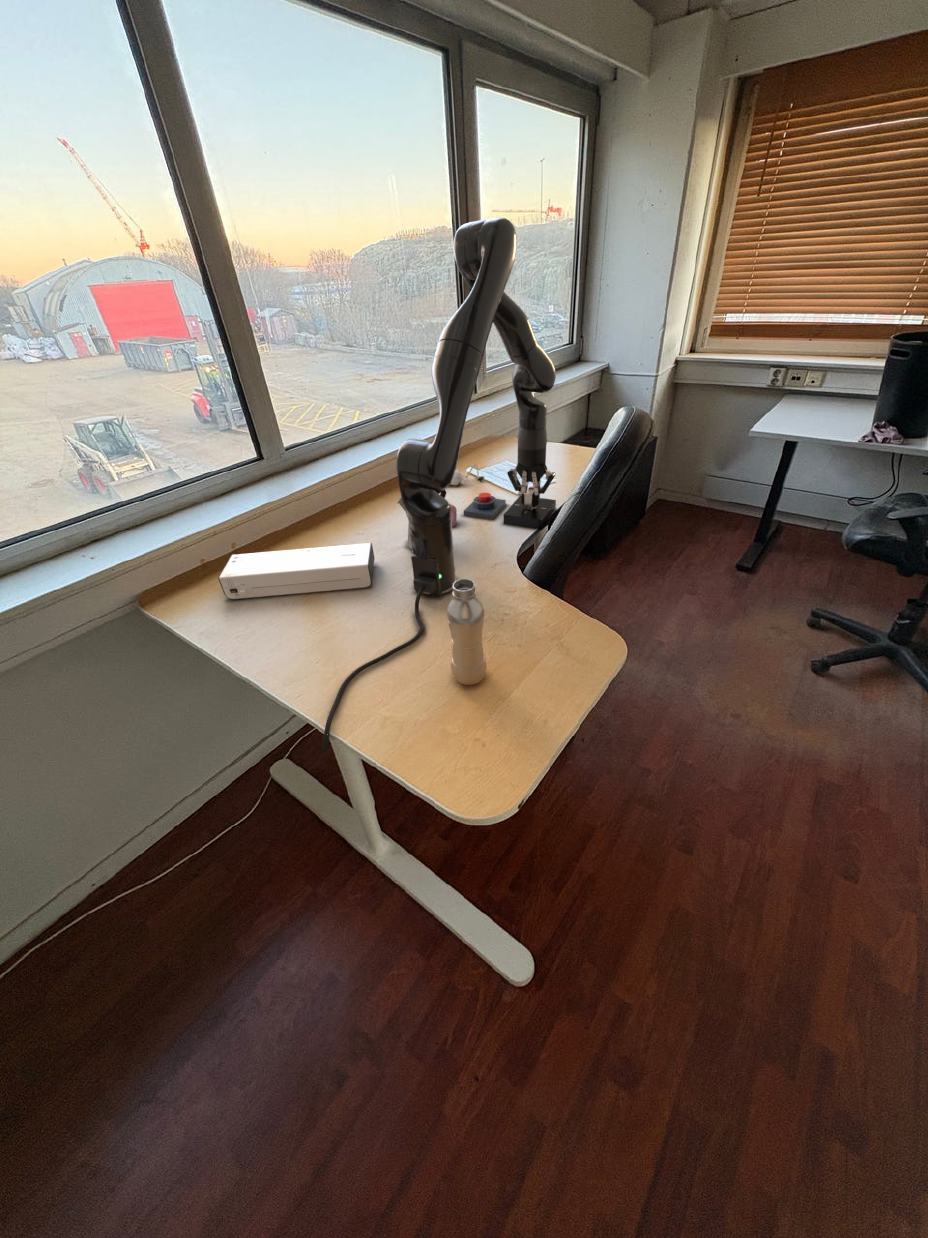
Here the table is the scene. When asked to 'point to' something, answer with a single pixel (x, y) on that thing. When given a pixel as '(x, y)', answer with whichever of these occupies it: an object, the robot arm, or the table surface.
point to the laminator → (298, 571)
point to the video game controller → (453, 514)
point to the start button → (484, 497)
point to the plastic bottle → (466, 633)
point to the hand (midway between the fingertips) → (530, 505)
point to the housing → (485, 508)
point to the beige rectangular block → (529, 499)
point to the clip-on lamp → (459, 477)
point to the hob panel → (530, 514)
